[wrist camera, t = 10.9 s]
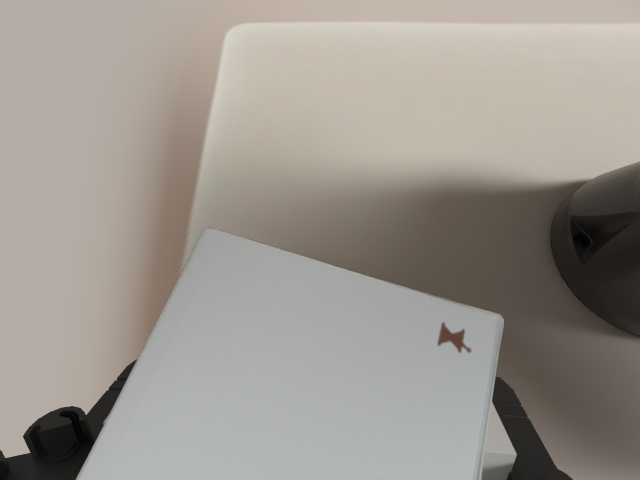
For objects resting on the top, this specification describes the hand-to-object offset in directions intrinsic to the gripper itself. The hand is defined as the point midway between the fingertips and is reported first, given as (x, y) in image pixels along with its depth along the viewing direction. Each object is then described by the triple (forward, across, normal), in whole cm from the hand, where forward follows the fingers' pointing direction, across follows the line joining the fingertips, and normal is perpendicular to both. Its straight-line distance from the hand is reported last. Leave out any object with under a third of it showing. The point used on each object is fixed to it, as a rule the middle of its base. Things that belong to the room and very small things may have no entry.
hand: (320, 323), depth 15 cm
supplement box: (+1, 0, -6) cm, 6 cm away
